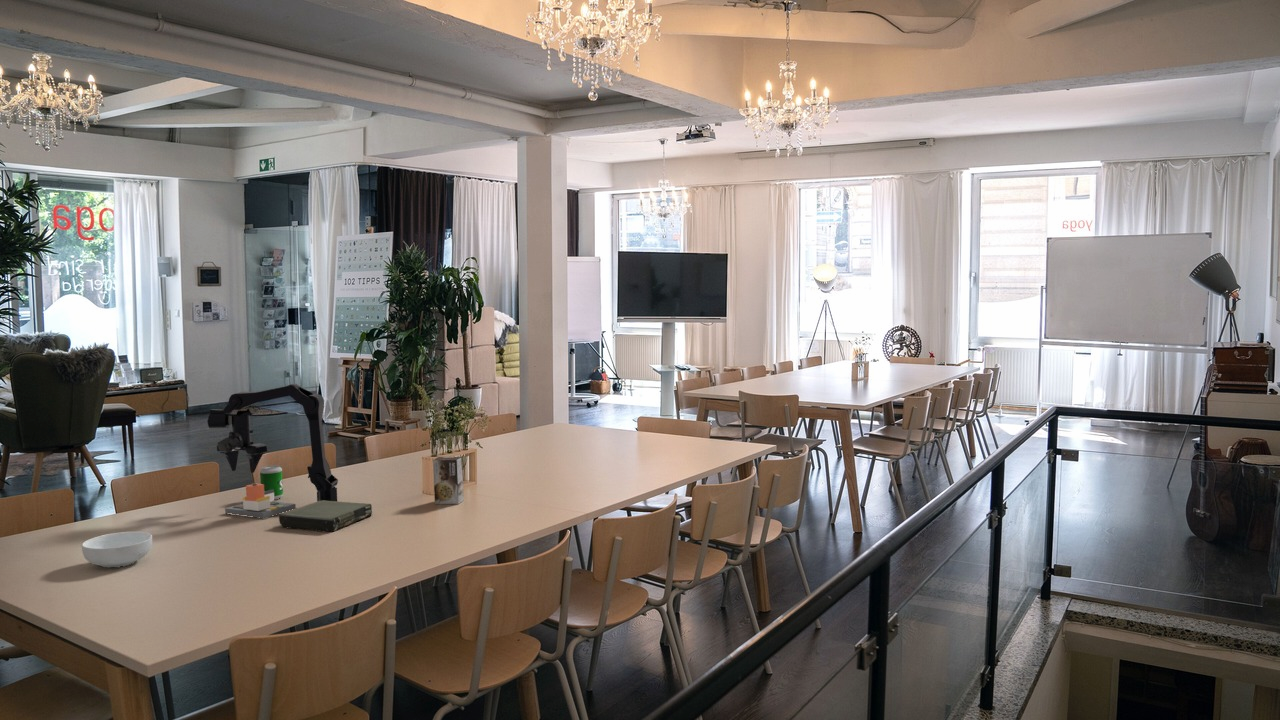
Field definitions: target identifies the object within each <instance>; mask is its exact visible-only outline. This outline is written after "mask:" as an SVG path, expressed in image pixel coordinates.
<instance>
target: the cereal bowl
mask: <svg viewBox="0 0 1280 720" xmlns="http://www.w3.org/2000/svg"><path fill="white" fill-rule="evenodd" d="M152 546H153V535H152V534H151V533H149V532H145V531H121V532H112V533H108V534H103V535H99V536H95V537H92V538H89V539H87V540H85V541H83V542H82V545H81V549H82V550H81V552H82V555H83V557H84V559H85V560H86V561H87V562H88V563H90V564H93V565H96V566H102V567H103V568H105V567H118V568H121V567H120V566H123V567H127V566H130V565H132V564H131V563H133V564H134V563H135V562H136V561H138V560H141V559H142V558H144V557H145V556H147V555H148V554H149V553H150V551H151V549H152ZM129 564H130V565H129ZM126 565H127V566H126Z"/></svg>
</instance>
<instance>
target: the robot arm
mask: <svg viewBox="0 0 1280 720" xmlns="http://www.w3.org/2000/svg"><path fill="white" fill-rule="evenodd" d="M286 397H290V398H292V399H293V400H294V401H296V403H298V404H300V405H301V406H302V408H303V412H304V415H305V417H306V419H307V421H308V427H309V436H310V448H311V457H312V461H311V464H309V465H308V466H307V472H308V474H307V475H308V476H307V479H309V480H310V484H313V485H314V487H315V489H316V502H317V501H323V500H325V501H337V502H338V487H336V486H337V485H338V483H339V479H338V478H336V476H335V475H333V474H332V471H331V466H330V463H329V462H328V460H327V458H326V449H325V439H324V430H323V416H324V415H323V414H324V410H325V399H324V397H323V396H322V395H320V394H318V393H313V392H312V391H310V390H308V389H306V388H303V387H301V386H300V385H298V384H296V383H292V384H289V385H284V386H280V387H279V386H278V387H274V388H271V389H270V388H269V389H265V390H260V391H239V392H236V393H233V394H231V395H230V396H229V397H228V403H227V404H226V406H225V407H224V408H223V409H216V408H212V409H210V410H209V414H208V417H207V427H208V428H209V429H217V430H218V429H228V428H229V427H230V426H231V429H232V431H229V433H228V436H227V437H225V438H224V439H222V440H220V441H219V442H217V445H216V451H217V452H219V453H220V454H221V455H223V456H225V458H226V460H227V461H228V462H227V463H228V464H229V467H230V469H231V471H232V472H235V471H236V470H237V465H238V459H239V452H240V451H245V452H246V453H247V454H245V456H246V457H247V458H248V461H249V471H250V473H251V474H253V473H255V472H256V470H257V467H258V464H259V463H260V461H261V458H262V457H263V455H265V454H266V452H268V446H267V444H266V443H259V442H258V443H254V441H251V434H254V430H253V429H251V425H250V424H251V421H250V419H251V418H250V416H253V415H256V412H255V411H254V409H252V407H250V406H253V405H255V404H258V403H261V402H266V401H270V400H275V399H281V398H286ZM248 407H249V408H248ZM244 408H247V409H245V410H244ZM242 409H243V410H242ZM236 411H237V412H236ZM233 412H234V413H233Z"/></svg>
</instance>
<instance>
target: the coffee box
mask: <svg viewBox="0 0 1280 720" xmlns="http://www.w3.org/2000/svg"><path fill="white" fill-rule="evenodd" d="M432 469H433V470H432V472H433V487H434V488H433V490H434V491H433V492H434V494H433V495H434V496H433V497H434V504H435V505H460V503H461V502H463V501H464V482H463V481H464V478H463V477H464V476H463V456H437V457H435V458H434V459H432Z"/></svg>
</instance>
